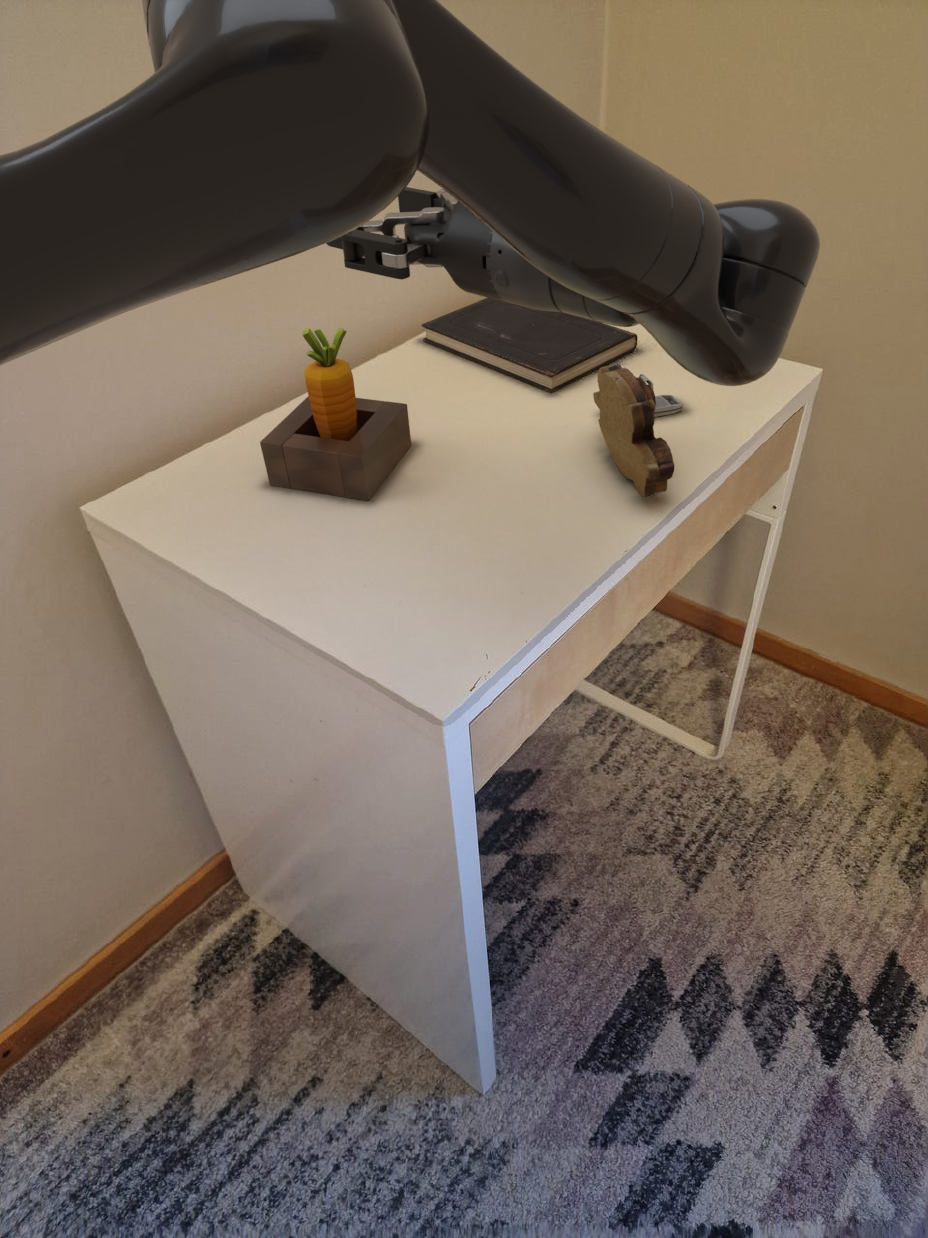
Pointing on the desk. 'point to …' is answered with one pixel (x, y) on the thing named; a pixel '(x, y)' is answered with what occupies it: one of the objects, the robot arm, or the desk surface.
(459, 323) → the hardcover book
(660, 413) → the strap clip
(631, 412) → the wooden carving
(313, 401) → the carrot
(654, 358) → the desk surface
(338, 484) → the holder
